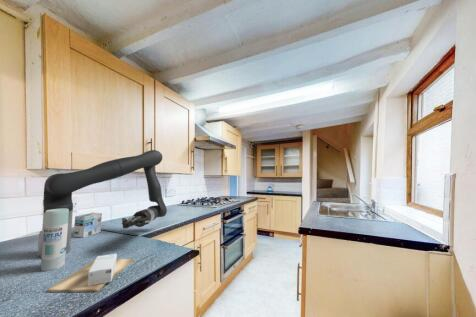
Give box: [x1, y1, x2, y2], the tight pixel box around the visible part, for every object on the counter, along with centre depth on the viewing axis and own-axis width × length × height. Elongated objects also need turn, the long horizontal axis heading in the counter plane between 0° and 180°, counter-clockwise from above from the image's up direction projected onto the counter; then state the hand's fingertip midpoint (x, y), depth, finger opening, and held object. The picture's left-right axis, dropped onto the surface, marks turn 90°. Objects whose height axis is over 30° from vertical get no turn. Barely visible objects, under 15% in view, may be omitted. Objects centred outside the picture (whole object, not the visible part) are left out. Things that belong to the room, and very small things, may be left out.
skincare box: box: [88, 253, 118, 286], centre depth 64 cm, size 6×4×12 cm
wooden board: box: [46, 258, 135, 293], centre depth 66 cm, size 14×20×1 cm
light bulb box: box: [73, 212, 103, 238], centre depth 108 cm, size 11×7×11 cm, turn 168°
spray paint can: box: [40, 208, 69, 272], centre depth 71 cm, size 6×6×20 cm
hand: (124, 225), depth 82 cm, fingers closed
